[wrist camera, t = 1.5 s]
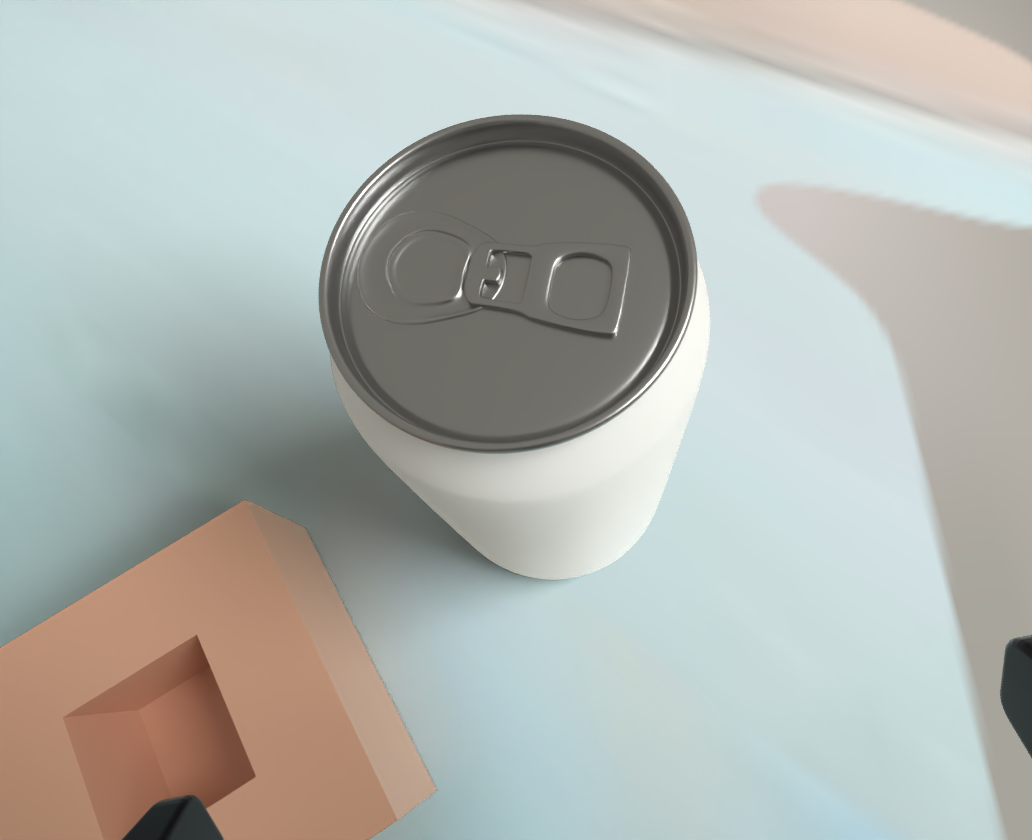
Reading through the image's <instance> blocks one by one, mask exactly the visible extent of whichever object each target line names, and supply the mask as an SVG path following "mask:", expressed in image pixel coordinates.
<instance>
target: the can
mask: <svg viewBox="0 0 1032 840" xmlns="http://www.w3.org/2000/svg"><path fill="white" fill-rule="evenodd" d="M319 312H320V319H321V324H322V329H323V333H324V337H325V340H326V343H327V346H328V349H329V351H330V359H331V366H332V371H333V376H334V380H335V383H336V387H337V390H338V393H339V395H340V398H341V400H342V403H343V405H344V407H345V409H346V411H347V413H348V415H349V416H350V418H351V420H352V422H353V423H354V425H355V427H356V428H357V430H358V431H359V433H360V434H361V436H362V437H363V438H364V440H365V441H366V442H367V444H368V445H369V446H370V447H371V448H372V450H373V451H374V452H375V453H376V454H377V455H378V456H379V457H380V458H381V459H382V461H383V462H384V463H385V464H386V465H387V466H388V467H389V468H390V469H391V470H392V471H393V472H394V473H395V474H396V475H397V476H398V477H399V478H400V479H401V480H402V481H403V482H404V483H405V484H406V485H407V486H409V487H410V488H411V489H412V490H413V491H414V492H415V493H416V494H417V495H418V496H419V497H420V498H421V499H422V500H423V501H424V502H425V503H426V504H427V505H429V506H430V507H431V508H432V509H433V510H434V511H435V512H436V513H437V514H438V515H439V516H440V517H441V518H442V519H443V520H445V521H446V522H447V523H448V524H449V525H450V526H451V527H452V528H453V529H454V530H455V531H456V532H458V533H459V534H460V535H461V536H462V537H463V538H464V539H465V540H466V541H467V542H469V543H470V544H471V545H472V546H473V547H474V548H475V549H476V550H478V551H479V552H480V553H481V554H483V555H484V556H485V557H487V558H488V559H489V560H491V561H492V562H494V563H495V564H497V565H499V566H501V567H503V568H504V569H507V570H509V571H511V572H514V573H517V574H520V575H523V576H527V577H531V578H537V579H547V580H559V579H569V578H575V577H579V576H583V575H587V574H590V573H592V572H595V571H597V570H599V569H602V568H604V567H605V566H607V565H609V564H611V563H612V562H614V561H615V560H617V559H618V558H620V557H621V556H622V555H623V554H625V553H626V552H627V551H628V550H629V549H630V548H631V547H632V546H633V545H634V544H635V543H636V542H637V541H638V539H639V538H640V537H641V536H642V534H643V533H644V531H645V530H646V528H647V527H648V525H649V523H650V522H651V520H652V518H653V516H654V514H655V511H656V509H657V507H658V504H659V502H660V499H661V496H662V494H663V491H664V488H665V486H666V483H667V480H668V477H669V475H670V472H671V469H672V466H673V464H674V461H675V458H676V455H677V452H678V449H679V447H680V444H681V441H682V438H683V435H684V432H685V429H686V426H687V423H688V420H689V418H690V415H691V412H692V409H693V406H694V403H695V400H696V396H697V393H698V390H699V387H700V384H701V380H702V376H703V372H704V369H705V364H706V360H707V354H708V347H709V336H710V307H709V299H708V293H707V288H706V284H705V280H704V276H703V273H702V270H701V267H700V265H699V262H698V260H697V253H696V247H695V242H694V237H693V234H692V230H691V227H690V224H689V221H688V218H687V216H686V214H685V211H684V209H683V207H682V205H681V203H680V201H679V200H678V198H677V196H676V195H675V193H674V191H673V190H672V188H671V187H670V186H669V184H668V183H667V182H666V180H665V179H664V178H663V177H662V175H661V174H660V173H659V172H658V171H657V170H656V169H655V168H654V167H653V166H652V165H651V164H650V163H649V162H648V161H647V160H646V159H645V158H644V157H642V156H641V155H640V154H639V153H637V152H636V151H635V150H633V149H632V148H631V147H629V146H628V145H626V144H625V143H623V142H621V141H620V140H618V139H616V138H614V137H612V136H610V135H608V134H606V133H604V132H602V131H600V130H598V129H595V128H592V127H590V126H587V125H584V124H581V123H578V122H574V121H570V120H566V119H561V118H556V117H549V116H541V115H501V116H493V117H486V118H480V119H475V120H471V121H467V122H463V123H460V124H456V125H453V126H450V127H447V128H445V129H442V130H440V131H437V132H435V133H433V134H430V135H428V136H426V137H424V138H422V139H420V140H418V141H417V142H415V143H413V144H411V145H410V146H408V147H406V148H405V149H403V150H402V151H400V152H399V153H397V154H396V155H395V156H393V157H392V158H391V159H389V160H388V161H387V162H386V163H384V164H383V165H382V166H381V167H380V168H378V169H377V170H376V171H375V172H374V173H373V174H372V175H371V176H370V177H369V178H368V179H367V180H366V181H365V182H364V183H363V185H362V186H361V187H360V188H359V189H358V190H357V192H356V193H355V194H354V196H353V197H352V198H351V200H350V201H349V202H348V204H347V205H346V207H345V208H344V210H343V212H342V213H341V215H340V217H339V219H338V221H337V223H336V224H335V227H334V229H333V231H332V233H331V236H330V238H329V241H328V244H327V247H326V250H325V253H324V257H323V261H322V266H321V271H320V279H319Z"/></svg>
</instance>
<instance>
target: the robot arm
mask: <svg viewBox="0 0 1032 840" xmlns="http://www.w3.org/2000/svg"><path fill="white" fill-rule="evenodd" d="M1000 696H1001V702H1002V706H1003V709H1004V711H1005V713H1006V715H1007V717H1008V719H1009V721H1010V722H1011V724H1012V726H1013V728H1014V729H1015V731H1016V733H1017V734H1018V736H1019V738H1020V739H1021V741H1022V743H1023V744H1024V746H1025V748H1026V749H1027V751H1028V753H1029V754H1030V756H1031V758H1032V635H1029V636H1023V637H1019V638H1014V639H1012V640H1010V641H1009V643H1008V644H1007V645H1006V648H1005V655H1004V665H1003V672H1002V681H1001V689H1000ZM122 840H224V838H223V836H222V834H221V833H220V831H219V829H218V828H217V826H216V824H215V823H214V821H213V819H212V818H211V816H210V814H209V813H208V811H207V809H206V808H205V806H204V804H203V803H202V801H201V800H200V799H199V798H198V797H197V796H195V795H184V796H178V797H173V798H168V799H164V800H161V801H159V802H157V803H155V804H154V805H153V806H152V807H151V808H150V809H149V810H148V811H147V812H146V813H145V814H144V815H143V816H142V818H141V819H140V820H139V821H138V822H137V823H136V824H135V825H134V826H133V827H132V829H131V830H130V831H129V832H128V833H127V834H126V835H125V836H124V837H123V838H122Z"/></svg>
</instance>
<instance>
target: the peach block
mask: <svg viewBox="0 0 1032 840" xmlns="http://www.w3.org/2000/svg"><path fill="white" fill-rule="evenodd" d="M436 791H437V789H436V787H435V785H434V783H433V781H432V779H431V777H430V775H429V773H428V771H427V769H426V767H425V765H424V763H423V761H422V759H421V757H420V755H419V753H418V751H417V749H416V747H415V745H414V743H413V741H412V739H411V737H410V735H409V733H408V731H407V729H406V727H405V725H404V723H403V721H402V719H401V717H400V715H399V713H398V711H397V709H396V707H395V705H394V703H393V701H392V699H391V697H390V695H389V693H388V691H387V689H386V687H385V685H384V683H383V681H382V679H381V677H380V675H379V673H378V671H377V669H376V667H375V665H374V663H373V661H372V659H371V657H370V655H369V653H368V651H367V649H366V647H365V645H364V643H363V641H362V639H361V637H360V635H359V633H358V631H357V629H356V627H355V625H354V623H353V621H352V619H351V617H350V615H349V613H348V611H347V609H346V608H345V606H344V604H343V602H342V600H341V598H340V596H339V594H338V592H337V590H336V588H335V586H334V584H333V582H332V580H331V578H330V576H329V574H328V572H327V570H326V568H325V566H324V564H323V562H322V560H321V558H320V556H319V554H318V552H317V550H316V548H315V546H314V544H313V542H312V540H311V538H310V536H309V534H308V532H307V530H306V528H305V527H303V526H301V525H299V524H296V523H294V522H292V521H290V520H288V519H286V518H284V517H281V516H279V515H277V514H275V513H273V512H271V511H269V510H267V509H264V508H262V507H260V506H258V505H256V504H254V503H252V502H249V501H247V500H243V501H242V502H240V503H238V504H237V505H235V506H233V507H232V508H230V509H228V510H227V511H225V512H224V513H222V514H220V515H219V516H217V517H215V518H214V519H212V520H210V521H209V522H207V523H205V524H204V525H202V526H200V527H199V528H197V529H195V530H194V531H192V532H190V533H189V534H187V535H186V536H184V537H182V538H181V539H179V540H177V541H176V542H174V543H172V544H171V545H169V546H167V547H166V548H164V549H162V550H161V551H159V552H157V553H156V554H154V555H152V556H151V557H149V558H148V559H146V560H144V561H143V562H141V563H139V564H138V565H136V566H134V567H133V568H131V569H129V570H128V571H126V572H124V573H123V574H121V575H119V576H118V577H116V578H114V579H113V580H111V581H109V582H108V583H106V584H105V585H103V586H101V587H100V588H98V589H96V590H95V591H93V592H91V593H90V594H88V595H86V596H85V597H83V598H81V599H80V600H78V601H76V602H75V603H73V604H71V605H70V606H68V607H67V608H65V609H63V610H62V611H60V612H58V613H57V614H55V615H53V616H52V617H50V618H48V619H47V620H45V621H43V622H42V623H40V624H38V625H37V626H35V627H33V628H32V629H30V630H29V631H27V632H25V633H24V634H22V635H20V636H19V637H17V638H15V639H14V640H12V641H10V642H9V643H7V644H5V645H4V646H2V647H0V840H122V838H123V837H124V836H125V835H126V834H127V833H128V832H129V831H130V830H131V829H132V827H133V826H134V825H135V824H136V823H137V822H138V821H139V820H140V819H141V818H142V816H143V815H144V814H145V813H146V812H147V811H148V810H149V809H150V808H151V807H152V806H153V805H154V804H155V803H157V802H159V801H161V800H164V799H168V798H173V797H178V796H184V795H195V796H197V797H198V798H199V799H200V800H201V801H202V803H203V804H204V806H205V808H206V809H207V811H208V813H209V814H210V816H211V818H212V819H213V821H214V823H215V824H216V826H217V828H218V829H219V831H220V833H221V834H222V836H223V838H224V840H368V839H370V838H371V837H373V836H374V835H376V834H377V833H379V832H380V831H382V830H383V829H385V828H387V827H388V826H390V825H391V824H393V823H394V822H396V821H397V820H399V819H400V818H401V817H403V816H404V815H405V814H406V813H408V812H409V811H410V810H412V809H413V808H414V807H416V806H417V805H418V804H420V803H421V802H422V801H424V800H425V799H426V798H428V797H429V796H430V795H432V794H433V793H434V792H436Z"/></svg>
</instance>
